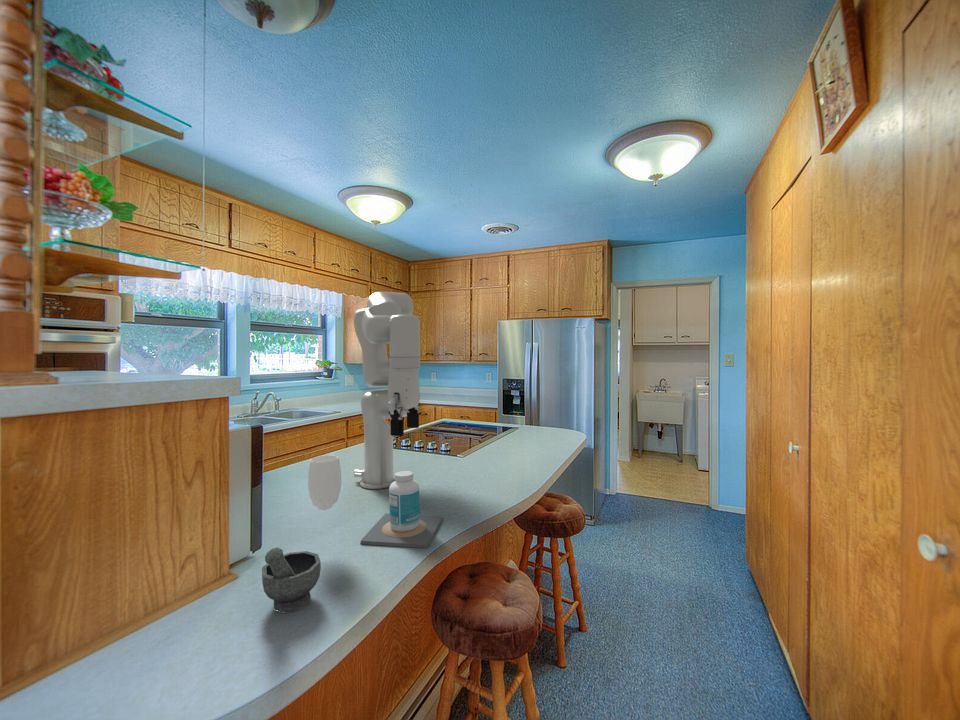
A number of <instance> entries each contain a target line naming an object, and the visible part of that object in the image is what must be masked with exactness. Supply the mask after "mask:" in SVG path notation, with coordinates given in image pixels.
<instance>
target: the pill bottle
mask: <svg viewBox="0 0 960 720" xmlns="http://www.w3.org/2000/svg"><path fill="white" fill-rule="evenodd" d="M394 476H395V480H396V481H395V482H393V483H392V484H391V485H390V487H388V491H389V493H388V495H389V496H388V497H389V498H388V499H389V514H390V527H391V528H392V529H393V530H395V531H398V532H406V531H411V530H414V529H416V528H417V527H418V526H419V524H420V515H421V512H420V510H421V509H420V507H421V506H420V484H419V483H418V482H417V480H415V479H414V476H415V475H414V472H413V471H412V470H401V471H397V472H395V473H394Z"/></svg>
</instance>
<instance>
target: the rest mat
mask: <svg viewBox="0 0 960 720" xmlns="http://www.w3.org/2000/svg"><path fill="white" fill-rule="evenodd" d="M382 515H383V516H381V517H380V518H379V519H378V521H377V522H376V523H375V524H374V525H373V526H372V527H371V529H370V530H369V531H368V532H367V533H366V534H365V535H364V536H363V537H362V538H361V540H360V545H370V546H386V547H403V548H404V547H405V548H417V549H418V548H419V549H428V547H429V545H430V543H432V542H431V541H432V540H433V538H434V536H435V534H436V532H437V531H438V529H439V527H440V525H441V523H442V522H443V520H442V519H444V517H443V515H442V516H441V515H425V514H420V524H419V526H418V527H417V528H416V529H414V530H411V531H406V532H398V531H395V530H393V529H392V528H391V527H390V512H389V513H387V512H386V513H384V514H382Z"/></svg>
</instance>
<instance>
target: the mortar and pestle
mask: <svg viewBox="0 0 960 720" xmlns="http://www.w3.org/2000/svg"><path fill="white" fill-rule="evenodd" d="M264 561H265V563H266V564H265V565H263V566H262V567H261V579H262V581H261V582H262V587H263V592H264V593H265V595H266V597H268V599H270V600H272V601H273V610H274V609H275V610H278V611H280V612H282V613H281V614H284V613H283V612H289V613H295V612H296V611H299V610H301V609H302V608H303V609H304V608H305V607H306V606H307V605H308V604H309V603H310V601H311V598H312V596H311V591H312V590H313V589H314V587H315V586H316V585H317V583H318V581H319V579H320V575H321V566H322V565H321V559H320V556H319V554H318V553H315V552H311V551H307V550H306V551H303V550H302V551H295V552H287V553H285V554H284V551H283V549H282V548H280V547H275V548H271V549H270V550H269V551H268V552H267V553H266V554H265V556H264ZM300 608H301V609H300ZM294 611H295V612H294ZM280 612H279V613H280Z"/></svg>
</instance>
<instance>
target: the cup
mask: <svg viewBox="0 0 960 720" xmlns="http://www.w3.org/2000/svg"><path fill="white" fill-rule="evenodd" d="M308 463H309V464H308V471H307V489H308V493H309V499H310V501H311V504H312V505H313V506H314V507H316V508H317V509H319V510H321V511H327V510H329V509H331V508H332V507H333V505H335V504H336V503H337V502H338V501H339V497H340V494H341V487H342V470H341V469H342V467H341V464H340V458H339V456H337V455H331V454H328V455H325V454H324V455H318V456H315V457H312V458H310V459H309V462H308Z"/></svg>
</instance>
